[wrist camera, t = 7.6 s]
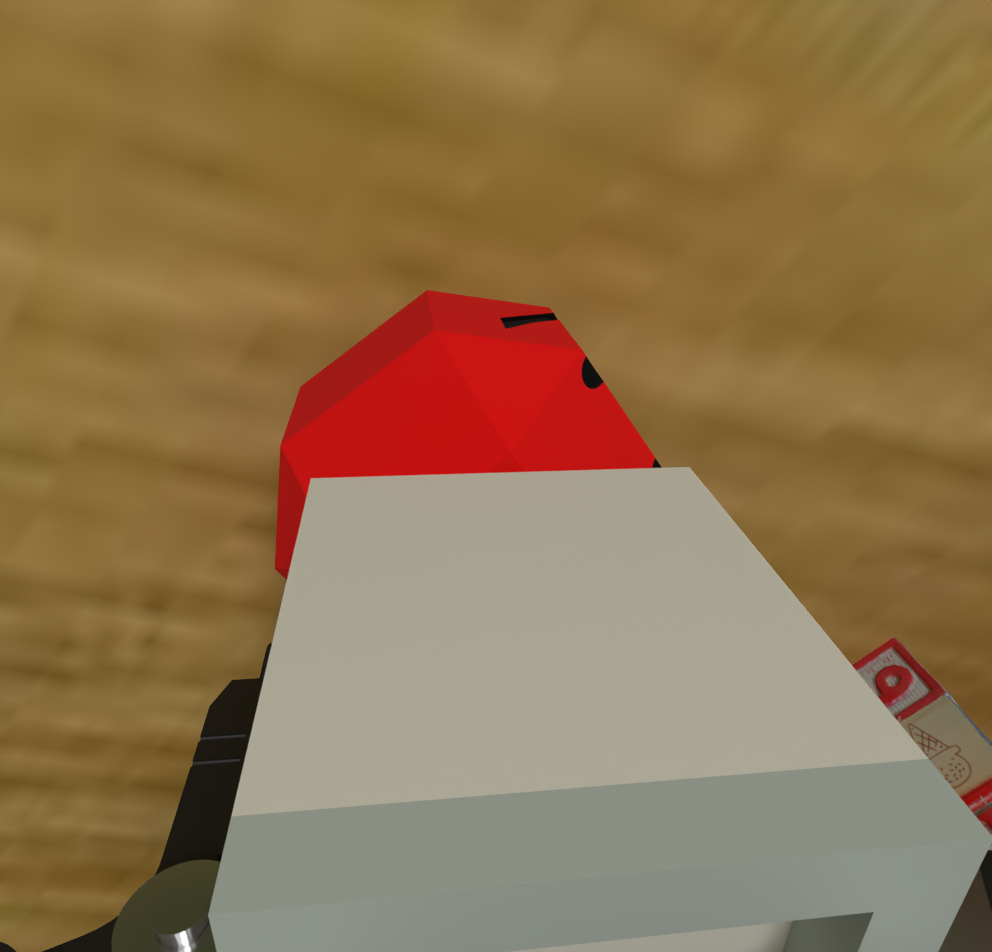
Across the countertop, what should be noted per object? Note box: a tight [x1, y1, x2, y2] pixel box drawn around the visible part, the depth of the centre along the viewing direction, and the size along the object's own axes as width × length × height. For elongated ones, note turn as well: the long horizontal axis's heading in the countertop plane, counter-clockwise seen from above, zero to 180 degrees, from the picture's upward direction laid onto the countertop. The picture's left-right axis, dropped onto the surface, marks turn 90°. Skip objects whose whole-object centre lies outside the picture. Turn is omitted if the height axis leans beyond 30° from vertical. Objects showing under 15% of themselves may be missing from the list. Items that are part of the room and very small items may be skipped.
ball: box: [275, 290, 662, 579], centre depth 17 cm, size 8×8×8 cm
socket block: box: [208, 467, 992, 952], centre depth 10 cm, size 6×6×7 cm
